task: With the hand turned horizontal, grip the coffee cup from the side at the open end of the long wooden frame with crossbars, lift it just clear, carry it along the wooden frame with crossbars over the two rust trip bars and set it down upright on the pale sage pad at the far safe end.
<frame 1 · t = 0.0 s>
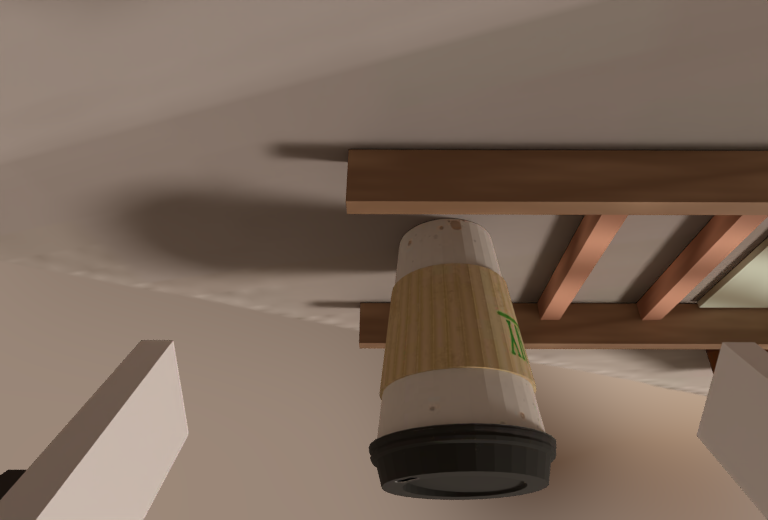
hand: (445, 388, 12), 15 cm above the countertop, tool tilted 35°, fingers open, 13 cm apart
coffee cup: (444, 244, 34), on the countertop
wooden frame with crossbars: (637, 247, 34), on the countertop
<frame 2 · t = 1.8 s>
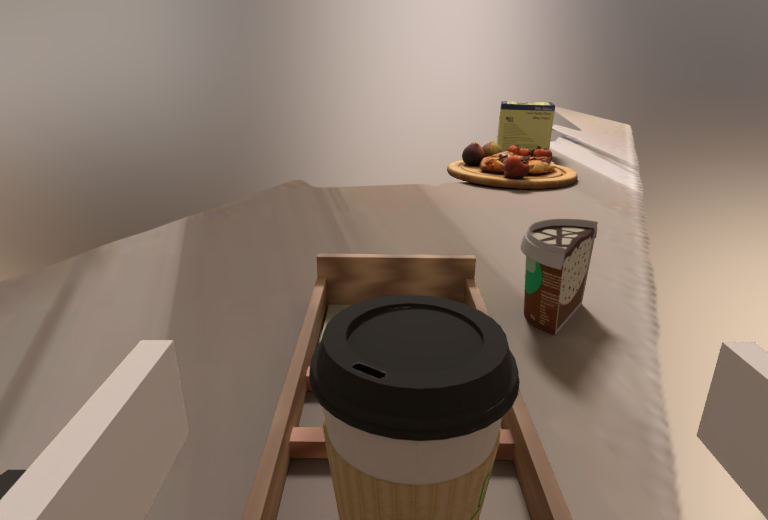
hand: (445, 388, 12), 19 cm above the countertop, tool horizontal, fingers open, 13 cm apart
protein box: (521, 155, 158), on the countertop
wooden plate with food: (510, 178, 129), on the countertop
wooden frame with crossbars: (399, 416, 41), on the countertop
food container: (542, 312, 59), on the countertop
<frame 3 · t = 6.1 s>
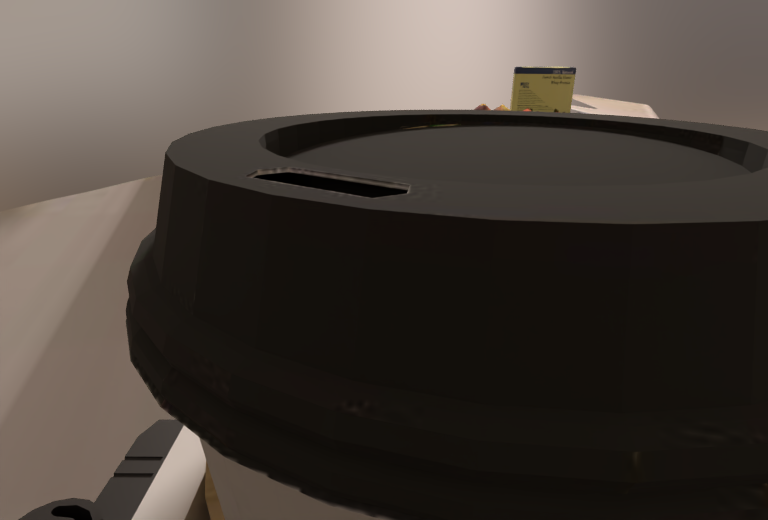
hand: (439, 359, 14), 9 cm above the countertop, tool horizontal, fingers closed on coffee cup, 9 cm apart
protein box: (537, 127, 141), on the countertop
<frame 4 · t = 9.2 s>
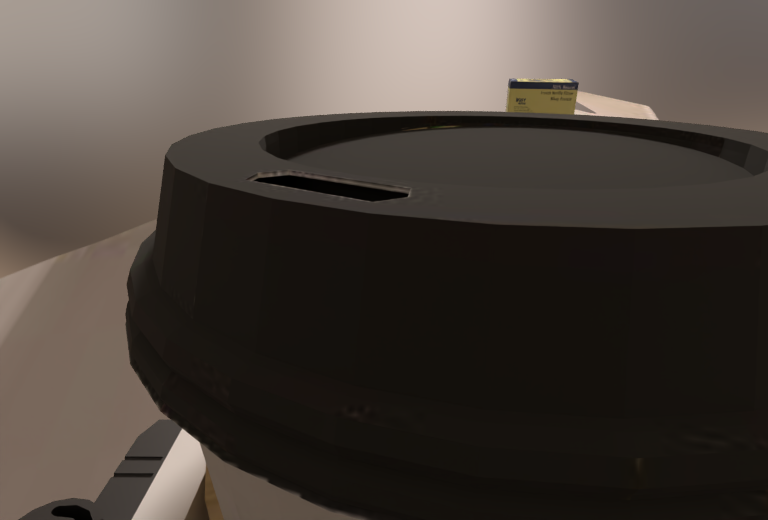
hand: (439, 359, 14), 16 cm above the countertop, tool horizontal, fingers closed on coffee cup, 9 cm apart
protein box: (534, 146, 127), on the countertop
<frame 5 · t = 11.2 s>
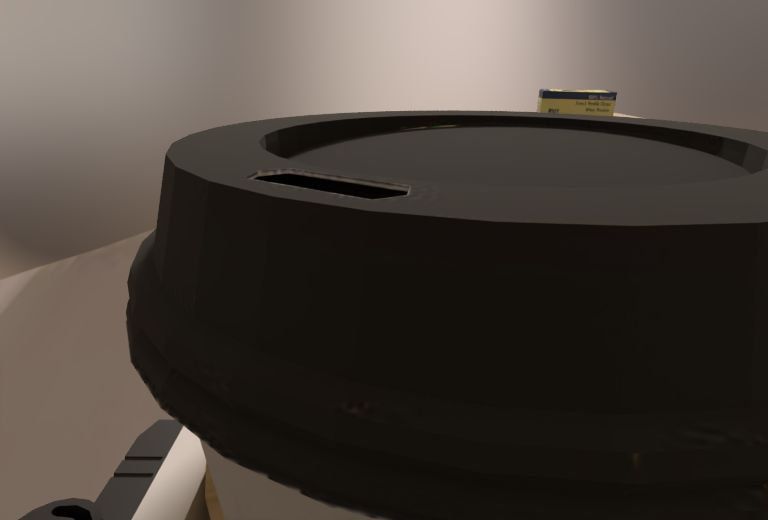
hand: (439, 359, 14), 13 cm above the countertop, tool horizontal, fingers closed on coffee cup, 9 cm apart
protein box: (566, 161, 119), on the countertop
when the fingers open (10 cm above the countertop, at t = 12.3 s): coffee cup stays where it is, resting on wooden frame with crossbars.
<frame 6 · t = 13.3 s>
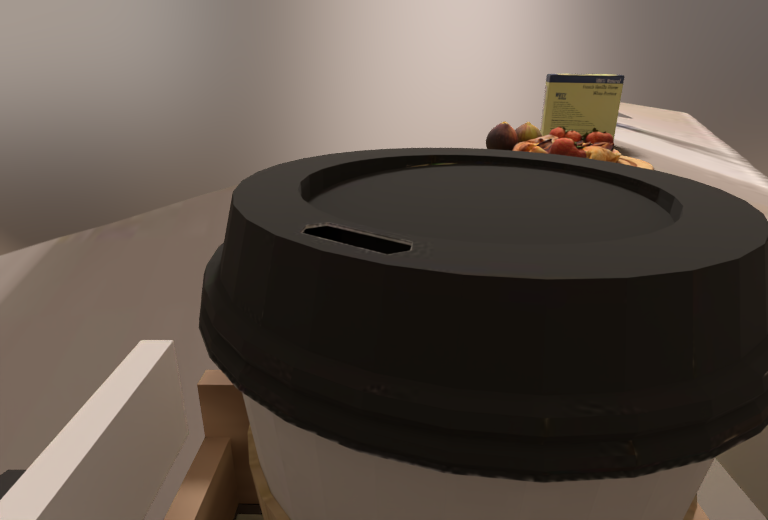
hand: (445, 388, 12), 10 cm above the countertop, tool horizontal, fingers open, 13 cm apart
protein box: (573, 145, 119), on the countertop
wooden plate with food: (553, 172, 91), on the countertop
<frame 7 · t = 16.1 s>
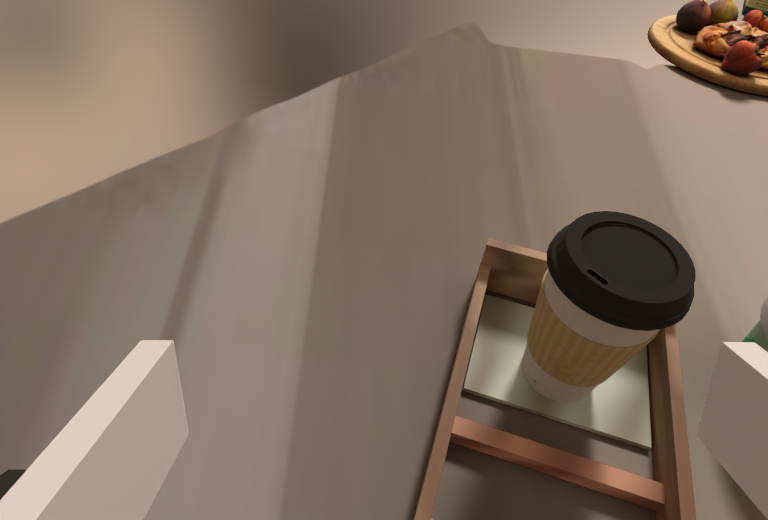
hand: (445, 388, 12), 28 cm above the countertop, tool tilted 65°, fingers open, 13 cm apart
coffee cup: (555, 372, 45), resting on wooden frame with crossbars
wooden plate with food: (730, 60, 97), on the countertop
wooden frame with crossbars: (543, 517, 37), on the countertop
food container: (746, 374, 47), on the countertop
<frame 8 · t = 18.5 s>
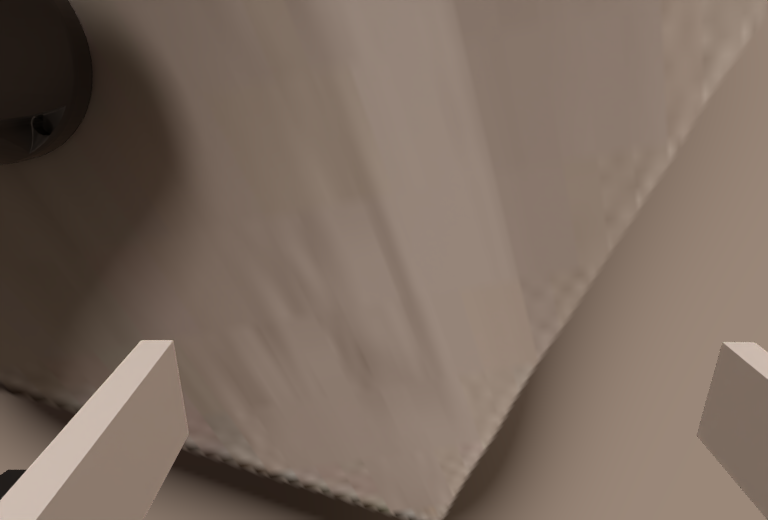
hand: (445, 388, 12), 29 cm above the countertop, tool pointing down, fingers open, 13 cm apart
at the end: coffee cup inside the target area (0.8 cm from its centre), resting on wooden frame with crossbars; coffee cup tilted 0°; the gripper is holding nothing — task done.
